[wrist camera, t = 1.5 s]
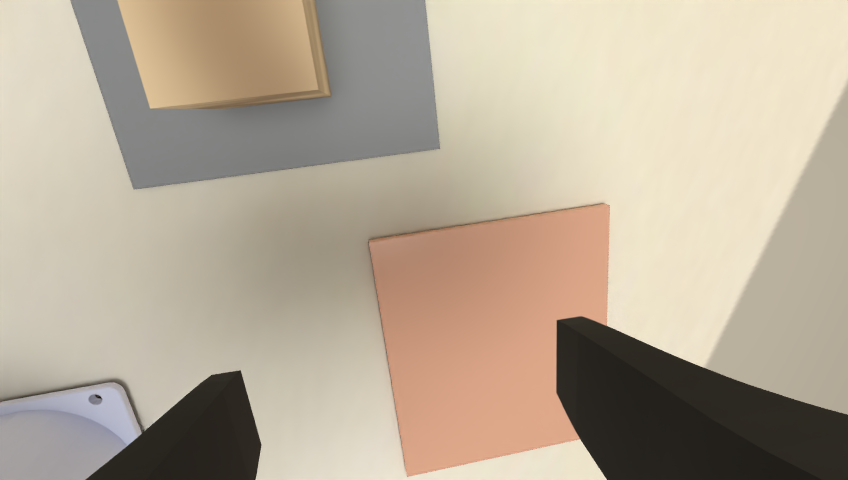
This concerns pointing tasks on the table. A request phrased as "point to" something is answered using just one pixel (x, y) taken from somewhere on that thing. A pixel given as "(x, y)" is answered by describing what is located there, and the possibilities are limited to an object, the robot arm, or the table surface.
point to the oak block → (226, 52)
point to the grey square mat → (278, 122)
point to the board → (486, 330)
